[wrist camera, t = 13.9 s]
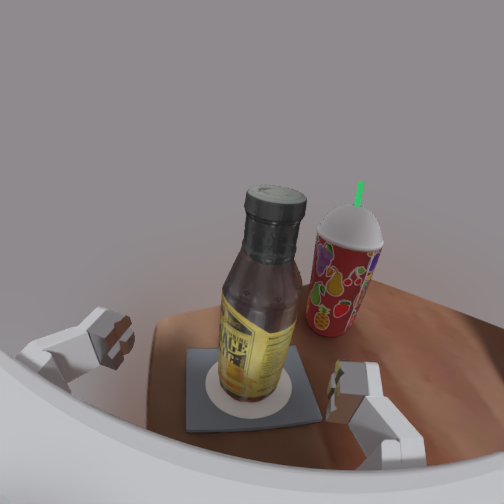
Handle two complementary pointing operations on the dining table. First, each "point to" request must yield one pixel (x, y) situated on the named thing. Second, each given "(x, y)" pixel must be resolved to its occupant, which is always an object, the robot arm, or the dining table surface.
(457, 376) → the dining table surface
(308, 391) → the card
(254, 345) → the sauce bottle
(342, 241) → the smoothie
